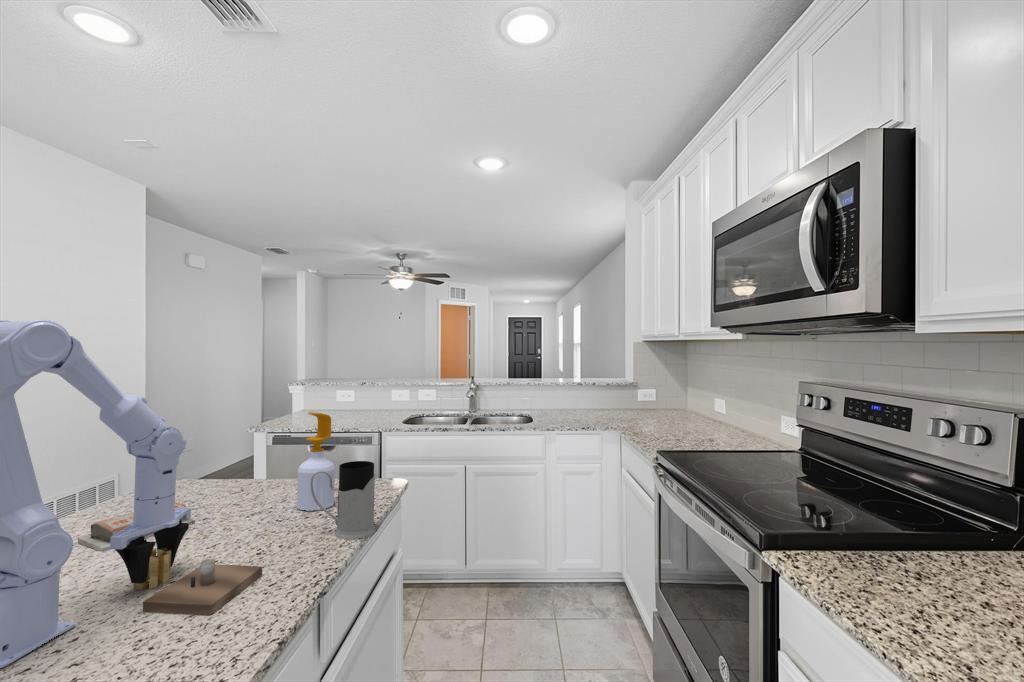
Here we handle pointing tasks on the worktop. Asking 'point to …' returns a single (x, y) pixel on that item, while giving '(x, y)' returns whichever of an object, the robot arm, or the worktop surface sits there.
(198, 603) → the post base
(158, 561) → the wooden block ring
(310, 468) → the soap bottle
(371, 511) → the glass holder
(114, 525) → the packaged product
